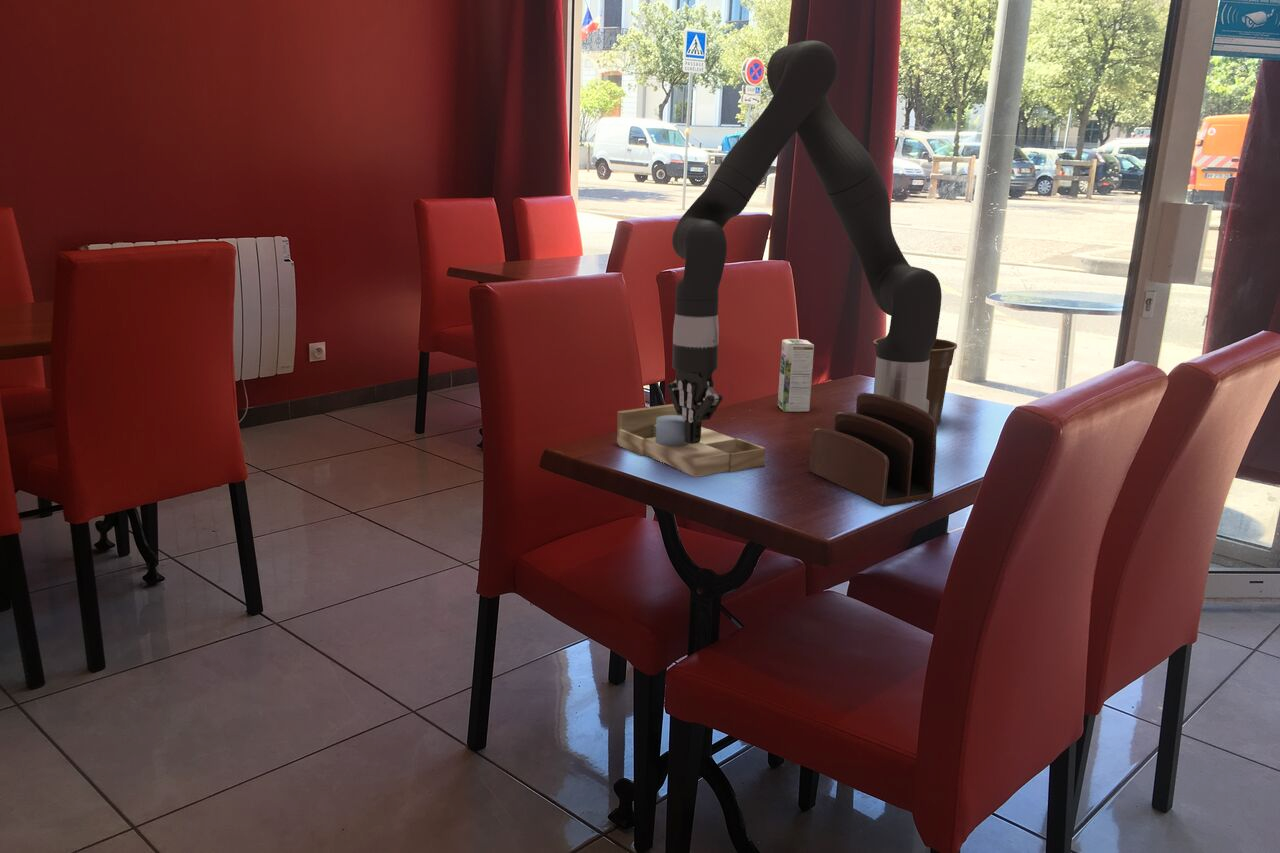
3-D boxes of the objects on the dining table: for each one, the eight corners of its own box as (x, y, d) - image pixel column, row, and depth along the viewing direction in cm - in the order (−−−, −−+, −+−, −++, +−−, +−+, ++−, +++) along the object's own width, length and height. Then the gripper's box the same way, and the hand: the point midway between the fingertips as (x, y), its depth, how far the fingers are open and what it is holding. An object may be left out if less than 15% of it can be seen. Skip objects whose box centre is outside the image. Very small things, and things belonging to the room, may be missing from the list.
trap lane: (765, 465, 178) (767, 431, 176) (694, 478, 169) (695, 443, 168) (681, 433, 197) (682, 402, 196) (614, 443, 189) (614, 411, 188)
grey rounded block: (676, 435, 184) (677, 413, 183) (697, 443, 179) (698, 420, 178) (649, 440, 181) (649, 417, 180) (669, 448, 176) (669, 425, 175)
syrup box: (776, 406, 221) (780, 338, 217) (803, 405, 221) (807, 338, 218) (783, 412, 215) (787, 343, 212) (810, 412, 216) (815, 343, 212)
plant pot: (852, 420, 210) (858, 341, 206) (890, 407, 222) (896, 332, 218) (927, 435, 200) (935, 352, 196) (962, 420, 212) (970, 342, 208)
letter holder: (855, 466, 179) (861, 386, 175) (933, 500, 162) (942, 412, 158) (807, 472, 175) (812, 390, 171) (882, 508, 157) (890, 418, 154)
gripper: (738, 345, 168) (734, 448, 172) (689, 334, 178) (686, 431, 183) (701, 349, 164) (698, 454, 168) (654, 337, 174) (651, 436, 179)
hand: (692, 442), depth 175 cm, fingers closed
